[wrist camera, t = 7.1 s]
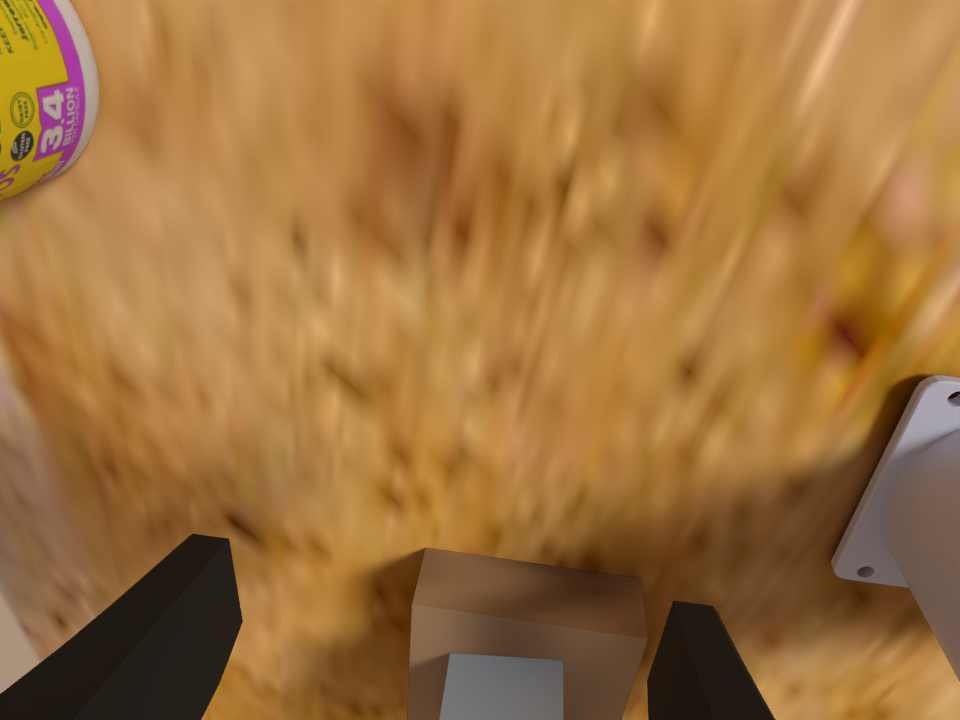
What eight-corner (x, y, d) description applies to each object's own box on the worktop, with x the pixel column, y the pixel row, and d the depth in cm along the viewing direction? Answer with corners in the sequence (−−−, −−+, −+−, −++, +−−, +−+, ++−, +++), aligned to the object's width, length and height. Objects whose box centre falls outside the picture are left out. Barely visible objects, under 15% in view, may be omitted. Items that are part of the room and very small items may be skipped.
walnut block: (640, 569, 25) (648, 639, 23) (602, 696, 29) (605, 767, 27) (427, 539, 26) (412, 603, 23) (420, 668, 30) (406, 735, 27)
